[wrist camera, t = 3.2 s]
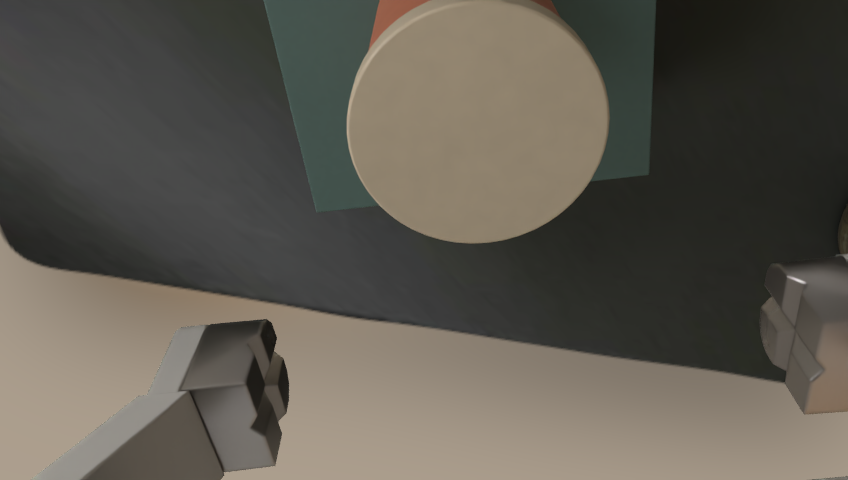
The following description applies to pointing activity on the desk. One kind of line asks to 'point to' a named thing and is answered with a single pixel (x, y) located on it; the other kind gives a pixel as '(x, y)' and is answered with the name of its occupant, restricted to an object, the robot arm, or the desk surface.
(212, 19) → the desk surface
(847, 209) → the container
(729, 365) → the desk surface
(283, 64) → the lidded square case
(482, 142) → the canister
